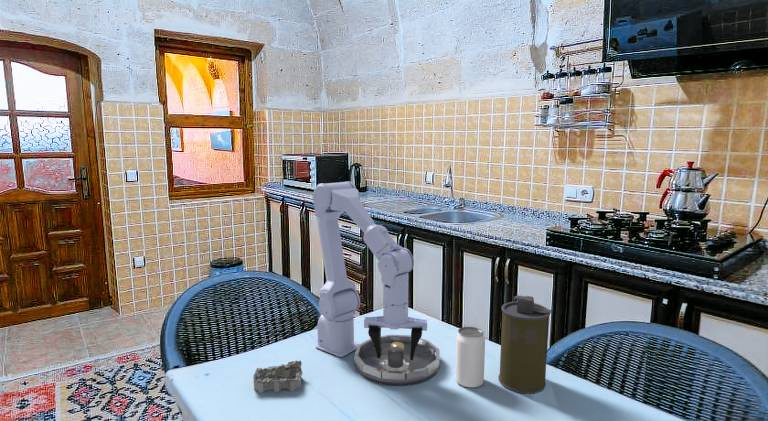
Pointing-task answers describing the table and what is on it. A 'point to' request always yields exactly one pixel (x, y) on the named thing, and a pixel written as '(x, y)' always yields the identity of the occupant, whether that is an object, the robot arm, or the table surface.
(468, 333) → the can
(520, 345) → the canister
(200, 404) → the table surface
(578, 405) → the table surface
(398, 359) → the gear
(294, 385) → the egg carton
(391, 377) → the bowl
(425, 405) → the table surface
